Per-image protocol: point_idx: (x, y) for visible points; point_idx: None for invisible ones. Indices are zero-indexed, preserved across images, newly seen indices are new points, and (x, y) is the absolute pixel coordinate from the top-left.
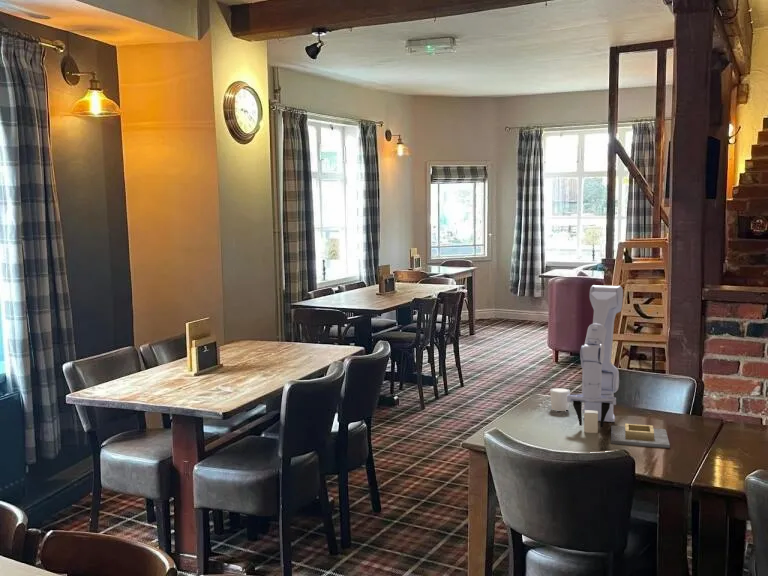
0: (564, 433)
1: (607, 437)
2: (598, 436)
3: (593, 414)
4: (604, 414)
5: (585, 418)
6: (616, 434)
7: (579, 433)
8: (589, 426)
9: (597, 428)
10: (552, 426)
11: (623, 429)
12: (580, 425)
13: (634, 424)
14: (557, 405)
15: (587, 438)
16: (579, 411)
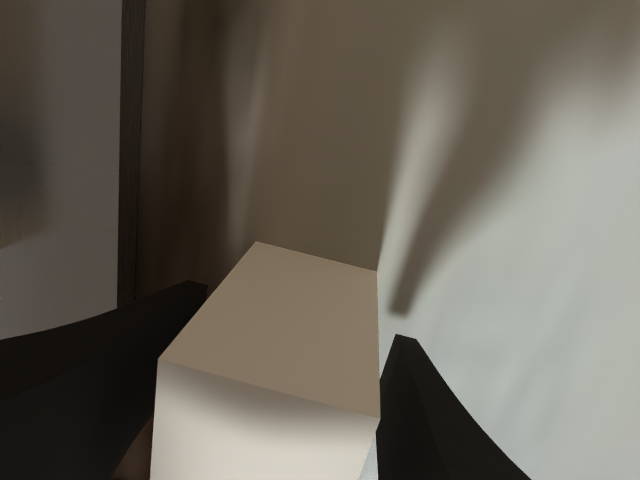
0: (604, 225)
1: (177, 95)
2: (262, 128)
3: (232, 371)
4: (55, 337)
5: (362, 353)
6: (67, 86)
7: (436, 227)
8: (320, 287)
9: (242, 259)
10: (631, 436)
11: (13, 262)
12: (408, 337)
13: None
14: None
15: (396, 39)
16: (470, 466)
